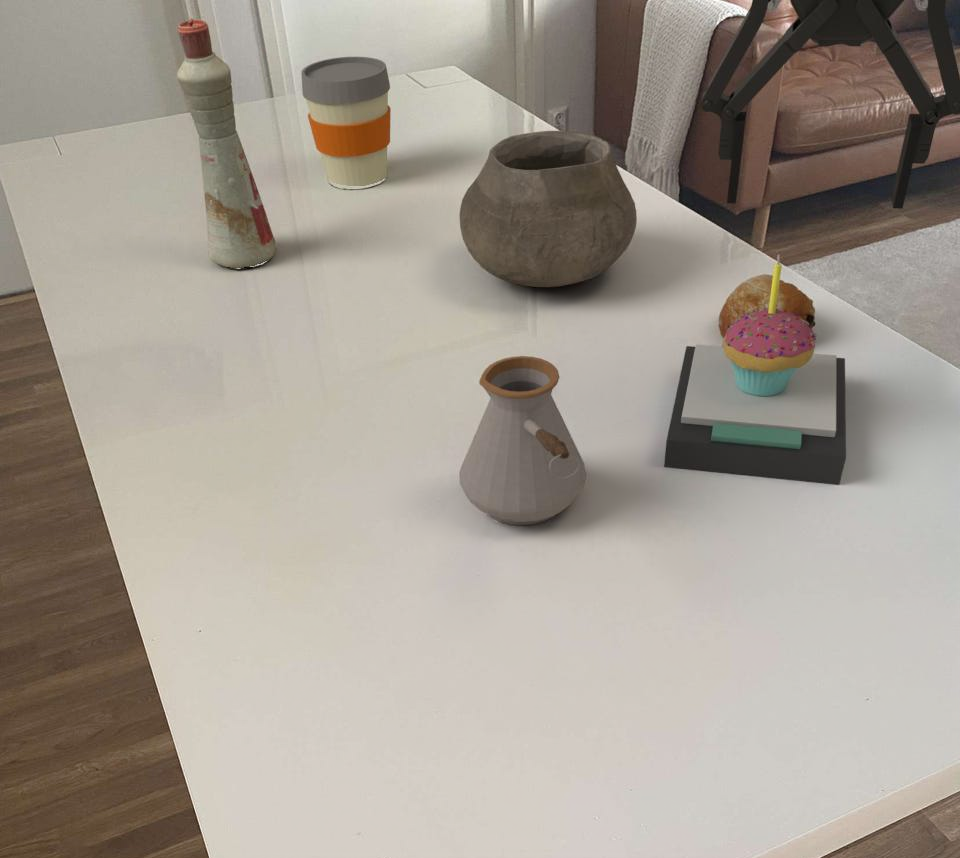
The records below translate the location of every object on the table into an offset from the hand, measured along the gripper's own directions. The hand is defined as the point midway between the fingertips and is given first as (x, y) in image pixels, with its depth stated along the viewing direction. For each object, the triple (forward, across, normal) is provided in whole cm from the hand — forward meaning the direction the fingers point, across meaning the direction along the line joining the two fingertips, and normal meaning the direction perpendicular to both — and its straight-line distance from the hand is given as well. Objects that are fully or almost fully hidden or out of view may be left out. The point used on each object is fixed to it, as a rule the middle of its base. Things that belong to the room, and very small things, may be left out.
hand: (813, 200), depth 86 cm
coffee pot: (+21, -20, -23) cm, 37 cm away
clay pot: (+21, -29, +28) cm, 45 cm away
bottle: (+20, -70, +28) cm, 78 cm away
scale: (+21, -2, -2) cm, 21 cm away
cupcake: (+18, -2, -1) cm, 18 cm away
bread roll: (+21, -2, +17) cm, 27 cm away
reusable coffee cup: (+20, -64, +56) cm, 87 cm away
